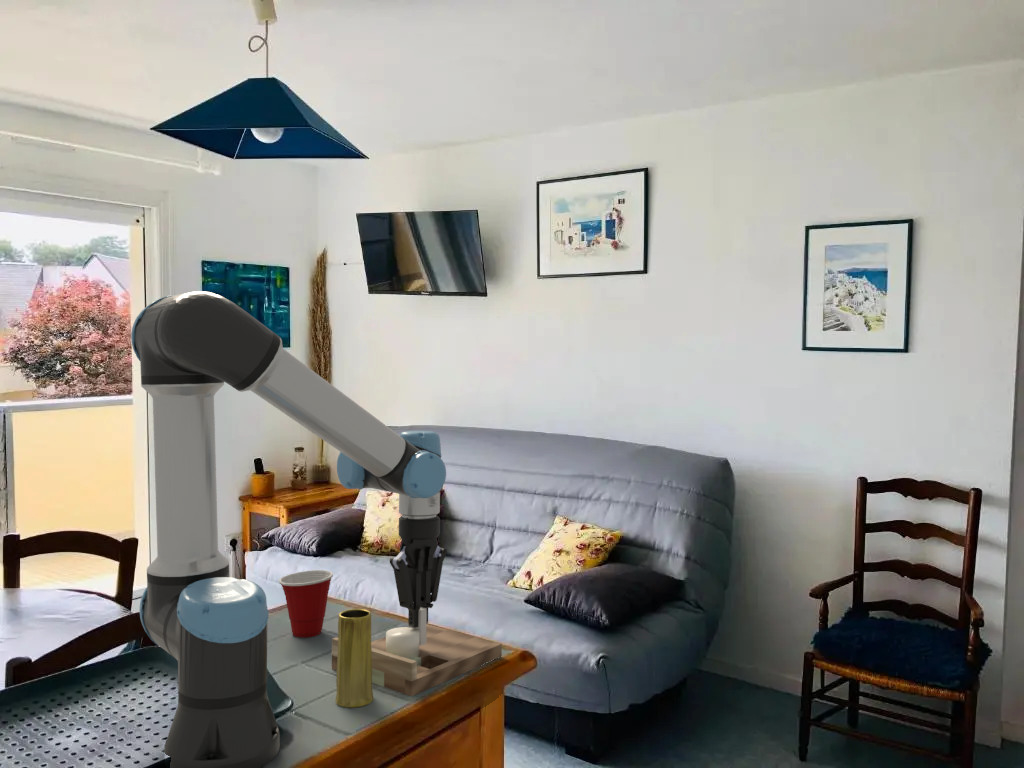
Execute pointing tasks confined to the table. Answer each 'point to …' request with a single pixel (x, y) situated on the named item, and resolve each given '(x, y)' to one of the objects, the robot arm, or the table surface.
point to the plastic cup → (306, 600)
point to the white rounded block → (403, 642)
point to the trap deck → (427, 660)
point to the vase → (354, 659)
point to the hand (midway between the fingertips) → (418, 643)
